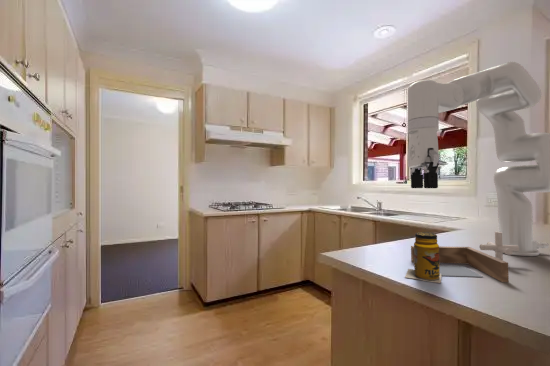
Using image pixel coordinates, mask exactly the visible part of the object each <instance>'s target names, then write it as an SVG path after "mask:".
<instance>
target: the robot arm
mask: <svg viewBox="0 0 550 366" xmlns="http://www.w3.org/2000/svg"><path fill="white" fill-rule="evenodd" d="M541 98H542V91H541V87H540V85H539V84H538V82H537V81H536V79H535V78H534V76H532V75H531V74H530V72H529V71H528V70H527V69H526V67H524V66H523V65H521V64H520V63H518V62H515V61H508V62H505V63H502V64H499V65H495V66H492V67H490V68H487V69H483V70H480V71H477V72H474V73H471V74H467V75H463V76H461V77H459V78H455V79H453V80H451V81H449V82H437V81H435V80H434V79H423V80H422V79H421V80H418V81H415V82H413V83H411V84H410V85H409V86H408V89H407V134H409V139H408V147H407V148H408V149H407V167H408V168H409V169H410V188H411V189H438V188H439V176H438V175H439V174H438V173H439V165H440V163H439V160H440V154H439V140H438V132H439V131H440V129H439V127H440V125H439V117H440V116H439V114H440V113H444V112H448V111H449V112H450V111H452V110H455V109H457V108H459V107H461V106H465V105H468V104H470V103H473V102H475V105H476V106H475V107H476V108H477V111H478V112H479V113H480V114H482V115H483V116H484V117H485V119H487V120H488V121H489V122H490V123H491V125H492V128H493V134H494V144H495V152H496V153H495V154H496V157H497V159H498V161H499V162H502V163H523V162H524V163H525V162H535V163H536V164H528V165H527V164H526V165H510V166H504V167H500V168H498V169H497V170H495V172H494V174H493V183H494V187H495V192H496V198H497V229H498V231H497V232H502V242H503V245H518V247H519V251H513V253H512V254H511V255H512V256H522V257H523V256H524V257H537V256H539V255H540V251H539V250H538V249H549V248H550V245H549V243H548V242H539V241H537V240H534V229H533V227H534V226H533V225H534V223H533V222H534V219H533V204H532V201H531V200H530V199H529V197H527V196H526V195H525V193H550V133H549V132H534V133H529V134H528V133H526V128H525V126H526V125H525V120H524V119H523V117H522V116H520V115H519V114H518V113H517V112H516V111H519V110H526V109H529V108H533V107H534V106H536V105H538V103H540V101H541ZM423 170H424V173H423ZM511 255H510V256H511Z"/></svg>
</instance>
